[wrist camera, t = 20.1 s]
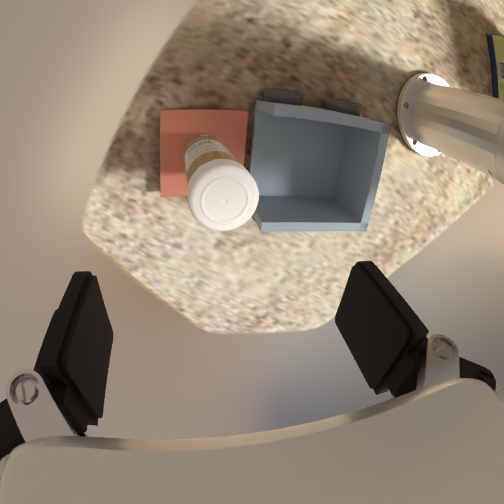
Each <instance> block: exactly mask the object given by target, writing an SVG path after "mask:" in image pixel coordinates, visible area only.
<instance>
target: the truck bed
mask: <svg viewBox="0 0 504 504" xmlns="http://www.w3.org/2000/svg"><path fill="white" fill-rule="evenodd" d="M302 100H303V93H300V92H294V91H287V90H278V89H267V88H265V89H264V99H263V101H261V100H255V105H254V116H253V127H252V138H251V149H250V160H249V171H248V172H249V173H250V174H251V176H252V177H253V178H254V180H255V182H256V184H257V187H258V191H259V201H258V205H257V207H256V210H255V212H254V213H253V215H252V218H253V220H254V221H256V223H257V225H258V227H259V229H260V231H261V232H290V231H366V229H367V226H368V222H369V219H370V215H371V211H372V208H373V204H374V200H375V196H376V192H377V188H378V184H379V179H380V175H381V171H382V166H383V162H384V157H385V152H386V147H387V142H388V137H389V131H390V126H391V125H389V124H386V123H382V122H379V121H376V120H372V119H369V118H365V117H362V116H359V113H360V107H361V104H357V103H353V102H349V101H344V100H339V99H334V98H327V97H326V100H325V108H324V109H323V108H317V107H311V106H304V105H302Z"/></svg>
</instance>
